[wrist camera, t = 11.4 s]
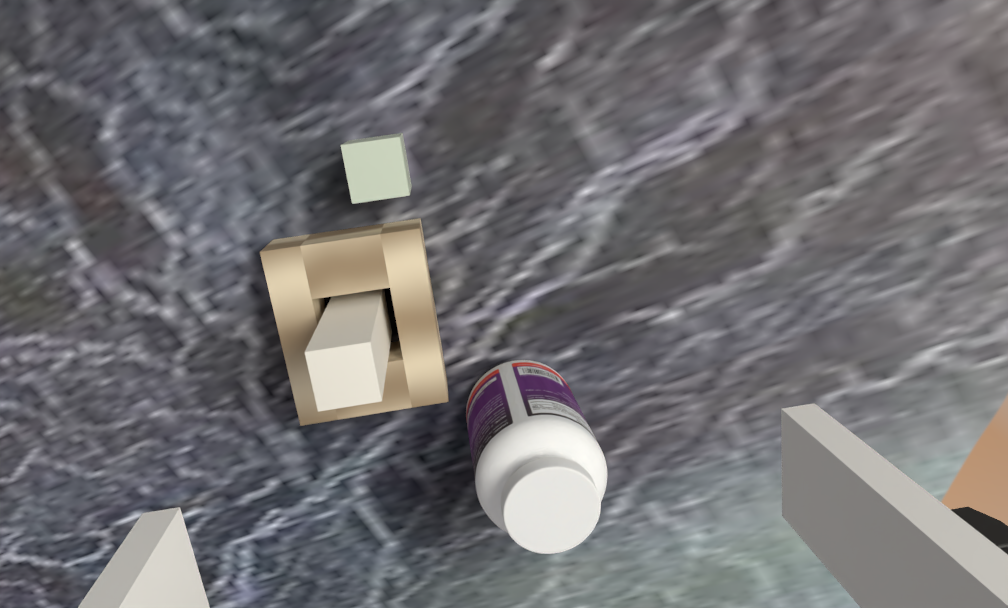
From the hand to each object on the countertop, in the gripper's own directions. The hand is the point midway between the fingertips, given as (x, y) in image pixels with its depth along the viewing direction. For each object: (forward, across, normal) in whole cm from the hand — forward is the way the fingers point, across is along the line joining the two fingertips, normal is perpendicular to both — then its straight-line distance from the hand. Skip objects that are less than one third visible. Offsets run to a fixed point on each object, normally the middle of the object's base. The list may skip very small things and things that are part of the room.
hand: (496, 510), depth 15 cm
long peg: (+35, -7, -5) cm, 36 cm away
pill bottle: (+35, +3, -14) cm, 38 cm away
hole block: (+35, -7, -5) cm, 36 cm away
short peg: (+35, -4, +5) cm, 35 cm away
